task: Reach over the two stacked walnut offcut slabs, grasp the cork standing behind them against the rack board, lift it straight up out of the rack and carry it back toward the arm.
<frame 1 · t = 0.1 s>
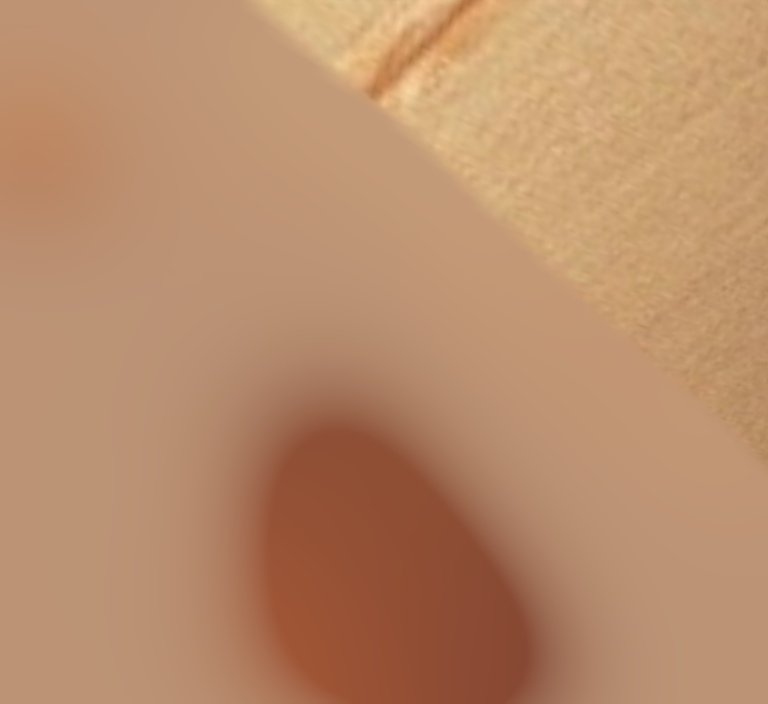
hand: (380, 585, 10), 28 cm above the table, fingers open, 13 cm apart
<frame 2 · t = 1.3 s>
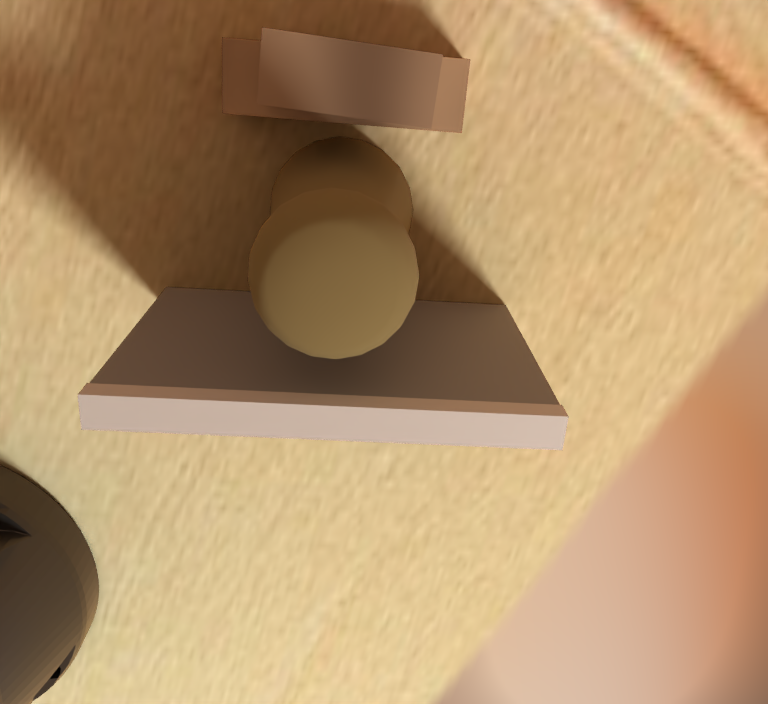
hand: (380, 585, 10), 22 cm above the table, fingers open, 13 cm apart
offcut low: (346, 83, 29), on the table, touching offcut top
cork: (341, 209, 31), on the table
offcut top: (349, 76, 27), point 2 cm above the table, touching offcut low
rack board: (337, 306, 33), on the table
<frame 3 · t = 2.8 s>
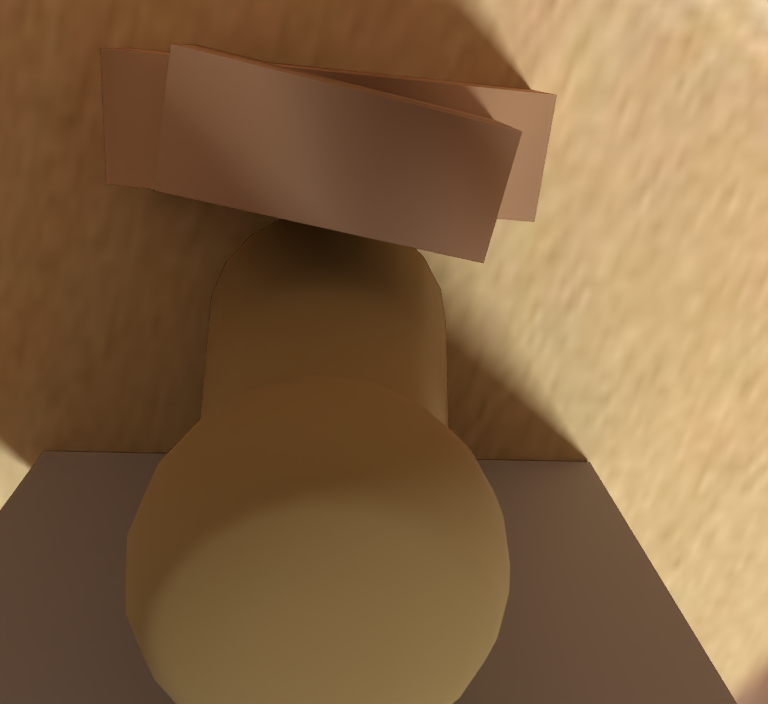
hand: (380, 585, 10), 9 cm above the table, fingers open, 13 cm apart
offcut low: (331, 127, 17), on the table, touching offcut top
cork: (328, 324, 19), on the table
offcut top: (337, 144, 15), point 2 cm above the table, touching offcut low
rack board: (323, 472, 20), on the table
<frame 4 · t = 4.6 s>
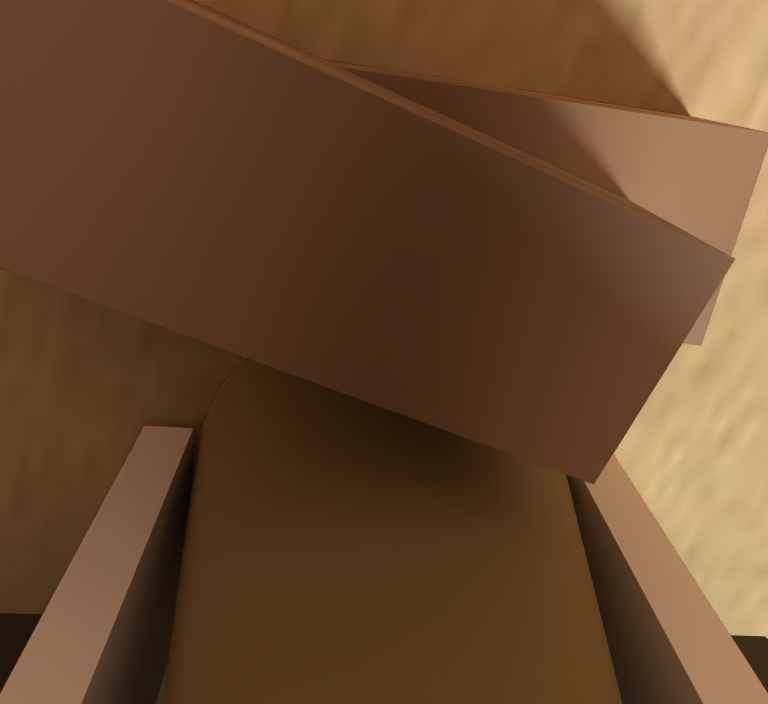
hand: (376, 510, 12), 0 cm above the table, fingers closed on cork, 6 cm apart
offcut low: (358, 161, 11), on the table
cork: (377, 470, 12), on the table, touching gripper
offcut top: (349, 194, 8), point 2 cm above the table
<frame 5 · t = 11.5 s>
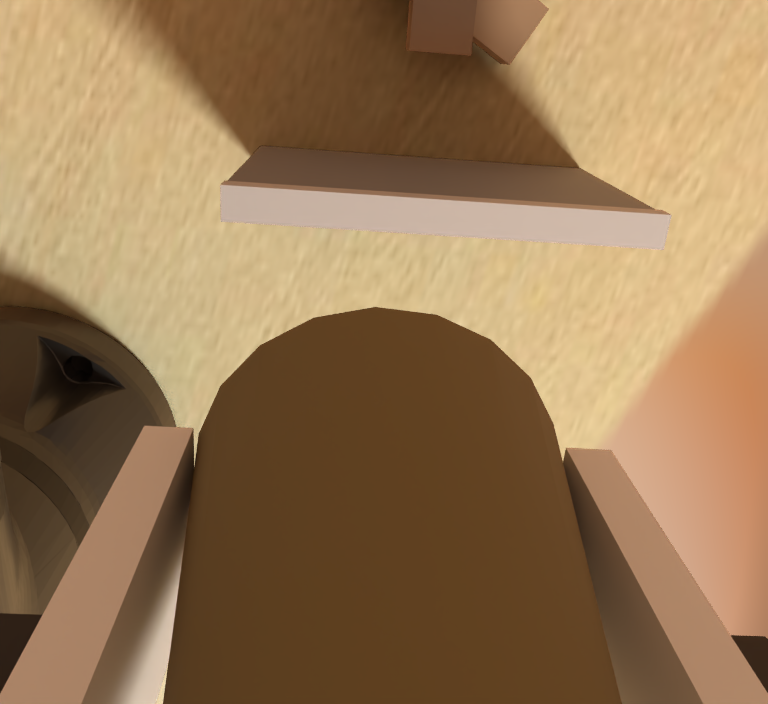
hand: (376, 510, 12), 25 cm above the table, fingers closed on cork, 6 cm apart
cork: (377, 471, 12), point 24 cm above the table, touching gripper
rack board: (421, 168, 34), on the table
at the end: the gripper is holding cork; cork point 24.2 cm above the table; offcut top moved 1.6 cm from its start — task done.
